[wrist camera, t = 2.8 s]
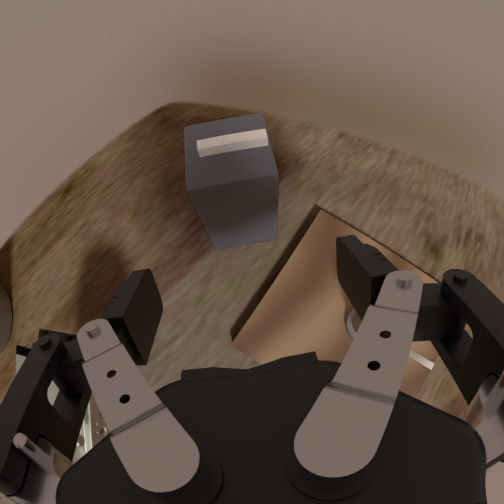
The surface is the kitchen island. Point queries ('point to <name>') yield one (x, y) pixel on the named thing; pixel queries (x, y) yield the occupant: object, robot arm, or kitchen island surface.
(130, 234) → the kitchen island surface
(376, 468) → the robot arm
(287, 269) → the panel
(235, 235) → the grey rectangular block
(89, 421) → the pneumatic valve
